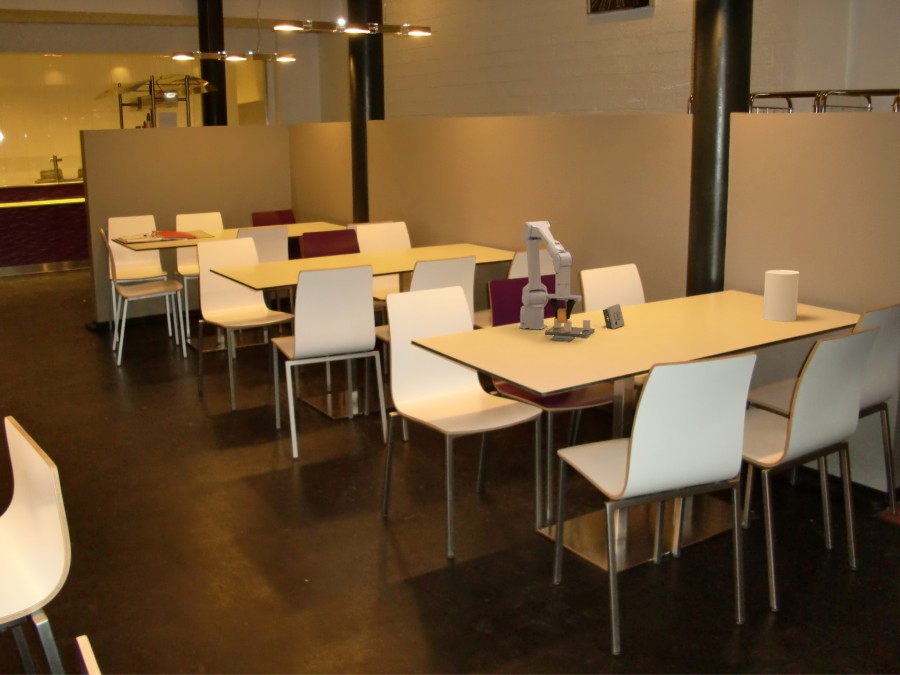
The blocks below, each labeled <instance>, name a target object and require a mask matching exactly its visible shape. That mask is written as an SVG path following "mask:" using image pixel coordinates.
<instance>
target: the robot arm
mask: <svg viewBox="0 0 900 675" xmlns="http://www.w3.org/2000/svg"><path fill="white" fill-rule="evenodd" d="M522 236H523V237H522V238H523V242H525V243H526V258H527V259H526V260H527V276H528V282H527V284H526V285H525V286H523V288H522V295H521V302H522V304H523V305H522V306H521V307H520V313H519V314H520V315H519V319H520V320H519V321H520V322H519V329H525V328H529V329H528V330H539V329H541V330H543V329H544V327H545V328H546V327H548V325H547V324H545V323H544V322H545V318H544V317H545V307H546V305H547V304H548V303H550V307H551V308H552V311H553V313H554V318H556V319H557V309H560V307H559V305H560V301H566V302H565V304H566V309H567V319H568V320H570V318H571V314H572V311H573V308H574V305H575V304H576V302H582V300H583V299H582V295H577V294H572V293H571V270H572V269H571V268H572V267H573V265H574V263H575V262H574V256H573V254H572V252H571V251H567V250H565V248H564V246H563V245H562V244H561V243H560V240H556V239H555V238H554V236H553V234H552V231H551V224H550V222H549V221H548V220H539V221H538V220H537V221H525V222H524V224H523V226H522ZM541 242H544V244H545V245H546V251H547V253H548V254H549V255H550V256H551V258H552V264H553V271H554V273H555V286H554V287H555V288H554V290H555V292H554V293H548V288H547V286H546V285H545V284H544V283H542V277H541V276H542V275H541V260H540V243H541Z"/></svg>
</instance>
